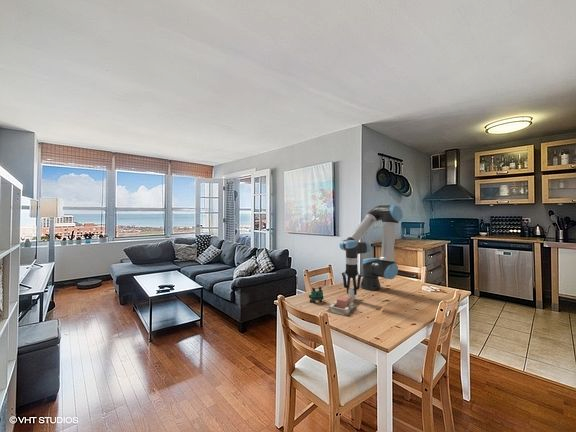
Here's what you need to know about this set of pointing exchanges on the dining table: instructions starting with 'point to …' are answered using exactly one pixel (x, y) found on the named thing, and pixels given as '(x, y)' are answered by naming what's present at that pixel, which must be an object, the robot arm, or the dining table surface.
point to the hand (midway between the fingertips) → (351, 298)
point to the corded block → (345, 299)
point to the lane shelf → (356, 303)
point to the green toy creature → (316, 295)
